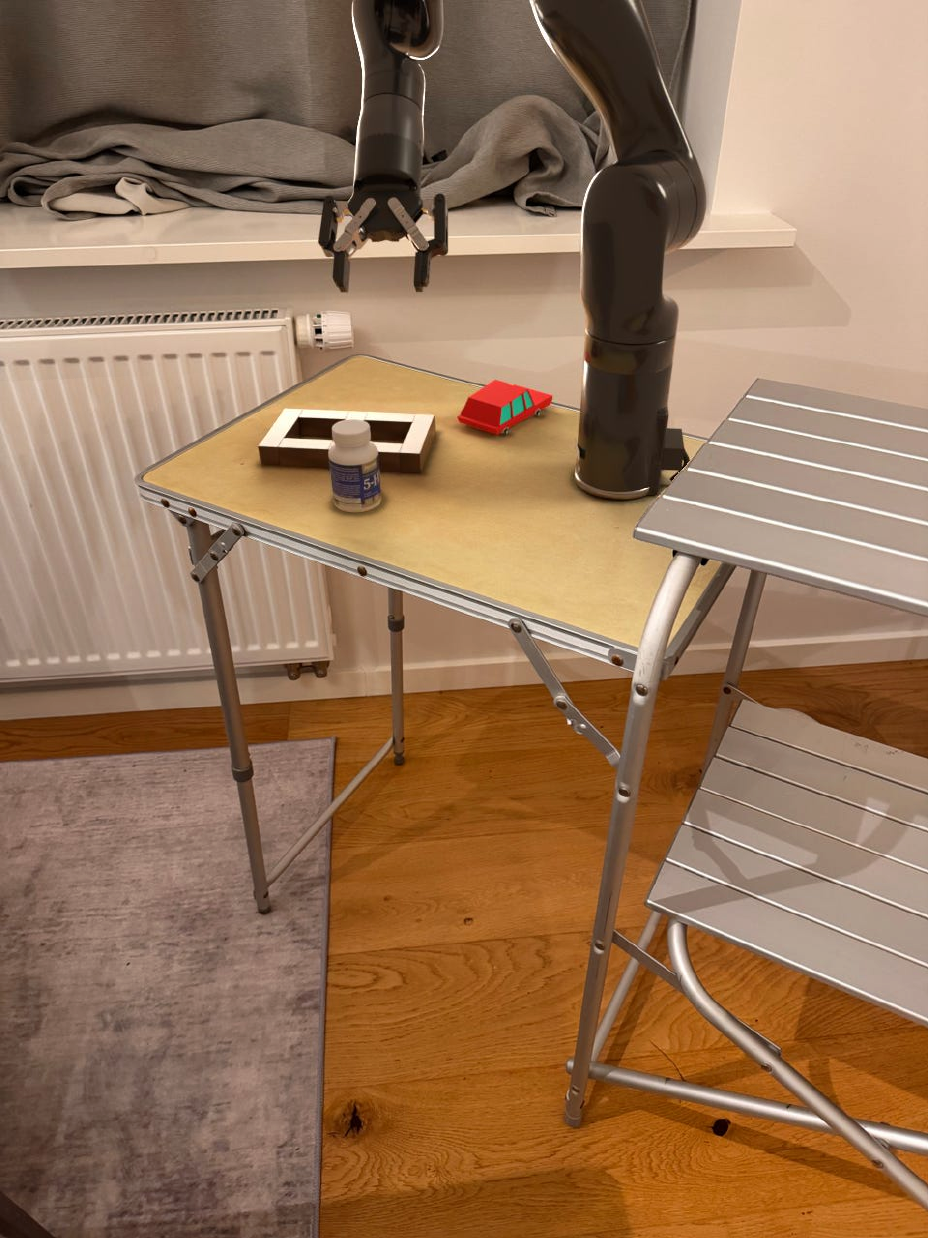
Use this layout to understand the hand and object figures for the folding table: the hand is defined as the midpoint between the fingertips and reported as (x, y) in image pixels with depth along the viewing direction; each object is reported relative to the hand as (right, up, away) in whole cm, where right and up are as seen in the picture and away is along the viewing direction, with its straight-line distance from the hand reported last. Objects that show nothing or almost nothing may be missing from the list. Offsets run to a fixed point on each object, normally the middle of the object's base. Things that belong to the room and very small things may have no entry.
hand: (380, 289), depth 100 cm
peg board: (-5, -16, +10) cm, 19 cm away
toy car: (+15, -11, +17) cm, 25 cm away
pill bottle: (-2, -24, 0) cm, 24 cm away
